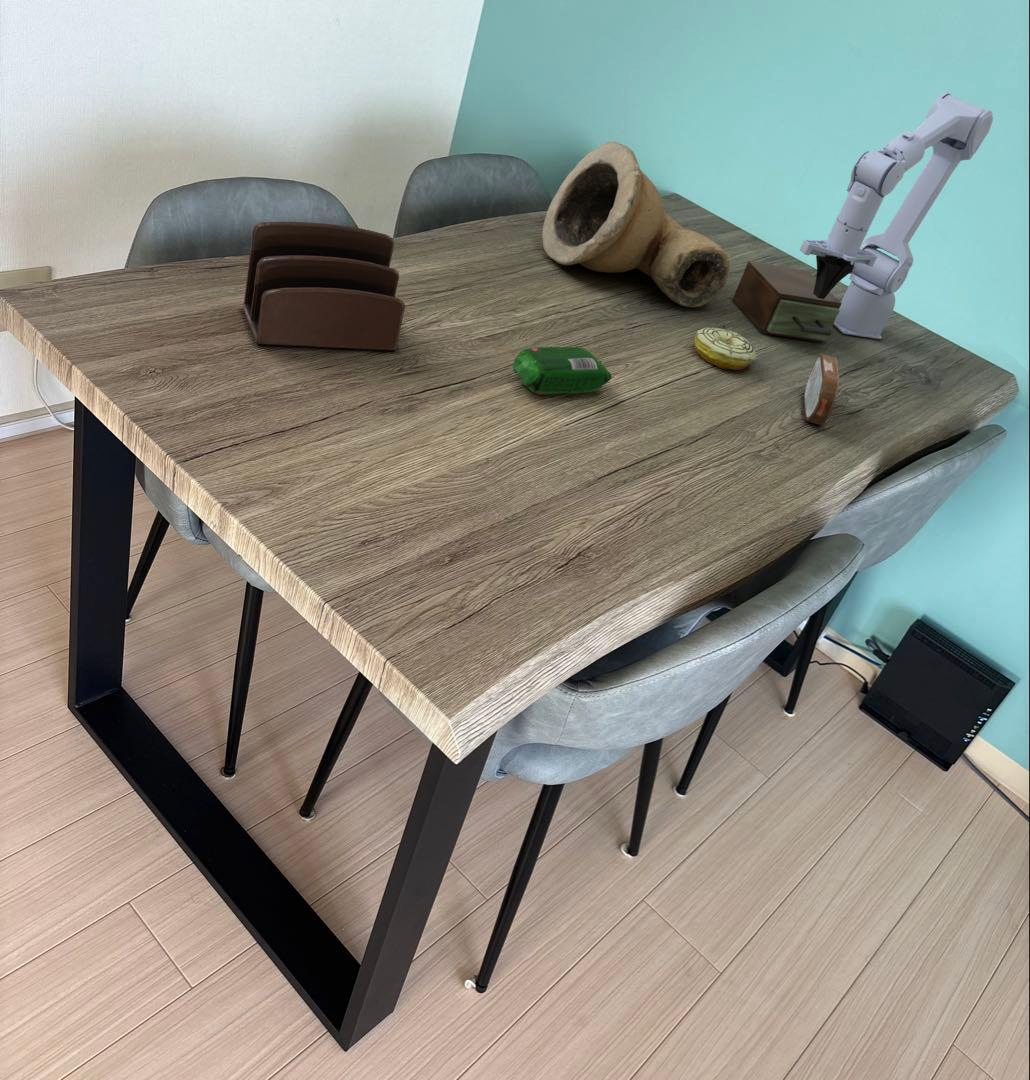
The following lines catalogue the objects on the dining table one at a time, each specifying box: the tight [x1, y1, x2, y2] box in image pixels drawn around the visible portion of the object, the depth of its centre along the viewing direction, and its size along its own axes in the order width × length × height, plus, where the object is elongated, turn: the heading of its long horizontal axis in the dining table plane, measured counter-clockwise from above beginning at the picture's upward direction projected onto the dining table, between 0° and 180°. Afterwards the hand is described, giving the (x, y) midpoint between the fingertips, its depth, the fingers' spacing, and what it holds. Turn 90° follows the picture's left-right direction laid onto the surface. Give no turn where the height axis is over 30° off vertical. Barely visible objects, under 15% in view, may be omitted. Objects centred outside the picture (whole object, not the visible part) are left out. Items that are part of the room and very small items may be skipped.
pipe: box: [541, 141, 731, 308], centre depth 190 cm, size 23×29×30 cm
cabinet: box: [731, 260, 842, 343], centre depth 193 cm, size 14×14×8 cm
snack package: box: [512, 346, 613, 396], centre depth 148 cm, size 7×16×5 cm, turn 118°
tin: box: [803, 354, 840, 427], centre depth 164 cm, size 15×3×8 cm, turn 168°
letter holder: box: [242, 221, 406, 352], centre depth 140 cm, size 10×20×14 cm, turn 113°
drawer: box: [767, 298, 840, 342], centre depth 190 cm, size 17×12×6 cm
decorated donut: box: [694, 327, 757, 371], centre depth 173 cm, size 10×11×4 cm
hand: (818, 296), depth 184 cm, fingers closed
